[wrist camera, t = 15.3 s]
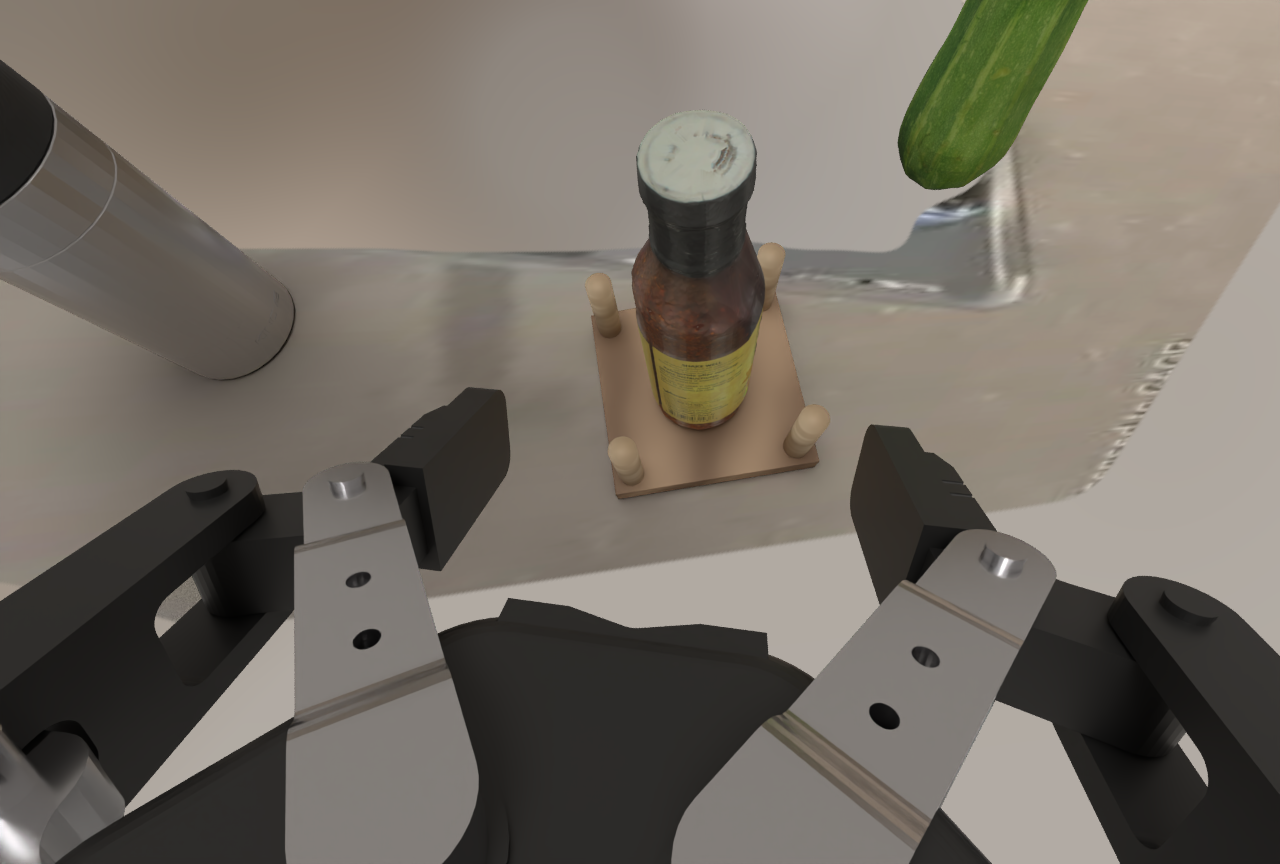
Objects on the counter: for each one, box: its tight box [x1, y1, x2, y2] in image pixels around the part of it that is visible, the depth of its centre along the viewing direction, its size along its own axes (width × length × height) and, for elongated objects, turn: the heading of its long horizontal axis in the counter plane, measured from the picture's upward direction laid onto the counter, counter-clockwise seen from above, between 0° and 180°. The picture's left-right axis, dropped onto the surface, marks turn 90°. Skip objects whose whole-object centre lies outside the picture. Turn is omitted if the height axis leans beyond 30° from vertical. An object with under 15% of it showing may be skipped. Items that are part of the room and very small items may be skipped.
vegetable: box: [898, 0, 1088, 190], centre depth 33 cm, size 7×7×20 cm
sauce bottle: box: [632, 110, 765, 430], centre depth 28 cm, size 7×6×20 cm
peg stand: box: [585, 243, 830, 499], centre depth 35 cm, size 13×13×7 cm
